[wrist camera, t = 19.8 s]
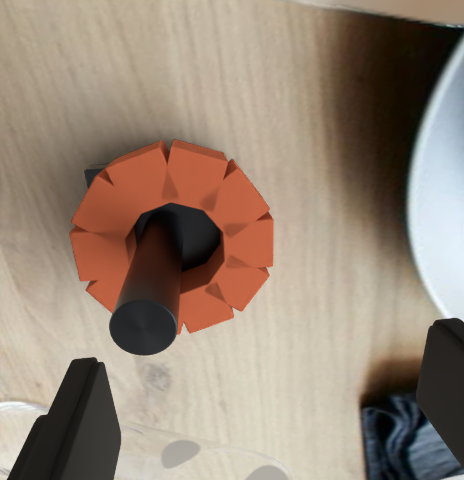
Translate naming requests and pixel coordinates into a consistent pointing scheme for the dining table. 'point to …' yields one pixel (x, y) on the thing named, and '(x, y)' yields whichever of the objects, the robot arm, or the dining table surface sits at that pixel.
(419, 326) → the dining table surface
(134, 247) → the ring
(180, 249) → the black peg stand
